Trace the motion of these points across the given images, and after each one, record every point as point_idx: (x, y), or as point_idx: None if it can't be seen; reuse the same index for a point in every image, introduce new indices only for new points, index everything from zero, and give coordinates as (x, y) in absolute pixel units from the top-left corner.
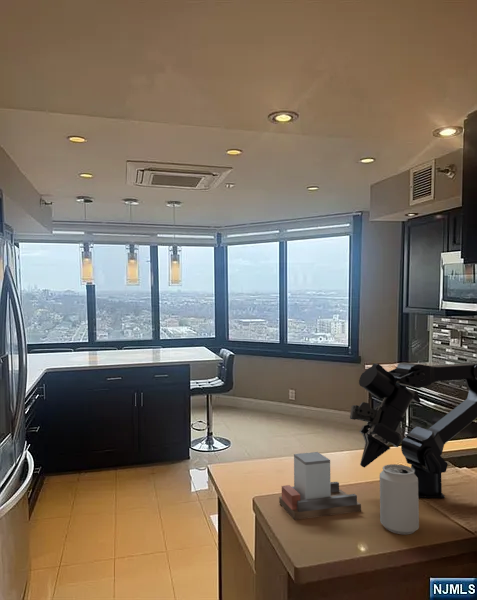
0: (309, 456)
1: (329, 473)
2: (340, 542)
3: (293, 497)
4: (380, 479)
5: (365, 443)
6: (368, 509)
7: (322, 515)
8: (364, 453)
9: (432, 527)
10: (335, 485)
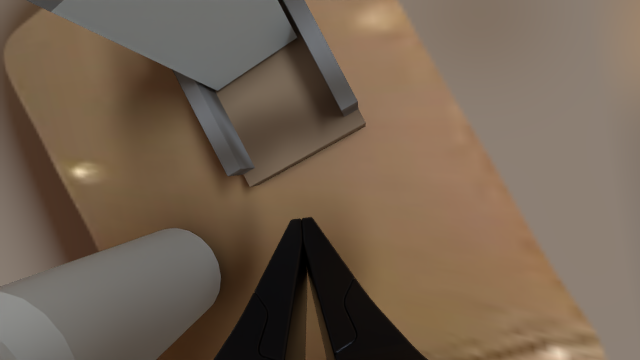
0: None
1: (121, 41)
2: (90, 126)
3: None
4: (10, 285)
5: (396, 349)
6: (275, 207)
7: None
8: (273, 275)
9: (206, 345)
10: (334, 97)
